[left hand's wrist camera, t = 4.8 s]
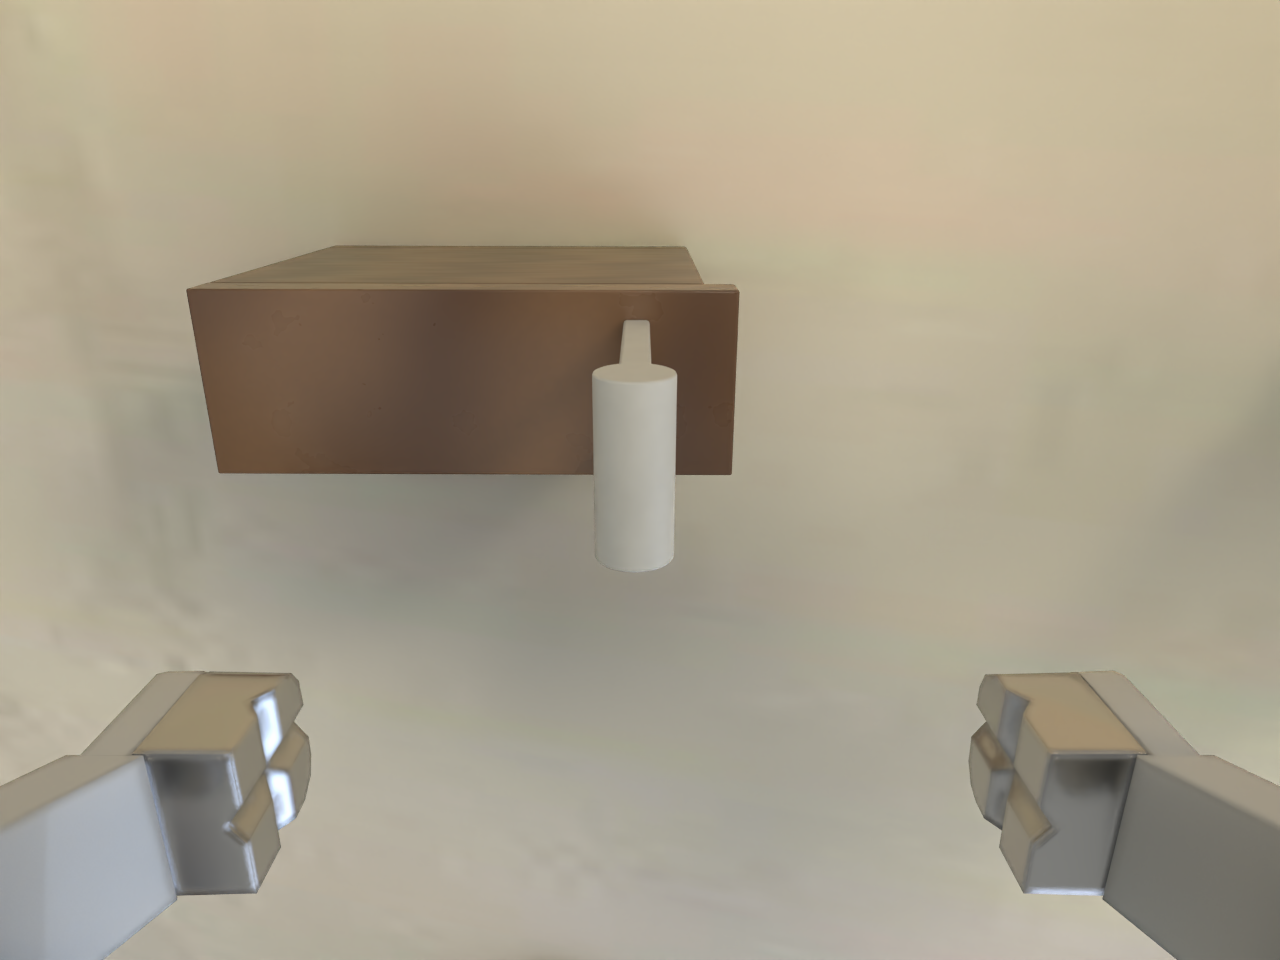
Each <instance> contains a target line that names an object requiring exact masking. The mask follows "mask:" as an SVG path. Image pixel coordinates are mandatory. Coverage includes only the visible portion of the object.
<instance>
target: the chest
mask: <svg viewBox="0 0 1280 960" xmlns="http://www.w3.org/2000/svg"><path fill="white" fill-rule="evenodd" d="M210 283H418V284H704V283H703V281H702V279H701V277H700V275H699V273H698V271H697V269H696V267H695V265H694V262H693V260H692V258H691V256H690V254H689V252H688V250H687V248H686V247H576V246H333V247H330V248H326V249H322V250H319V251H315V252H312V253H308V254H305V255H302V256H298V257H295V258H291V259H288V260H285V261H281V262H278V263H274V264H271V265H268V266H264V267H261V268H257V269H254V270H251V271H247V272H244V273H240V274H237V275H234V276H230V277H227V278H223V279H220V280H217V281H213V282H210Z"/></svg>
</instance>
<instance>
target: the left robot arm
mask: <svg viewBox="0 0 1280 960" xmlns="http://www.w3.org/2000/svg"><path fill="white" fill-rule="evenodd" d="M302 706H303V700H302V695H301V690H300V685H299V681H298V680H297V679H296V678H295V677H294V675H293V674H292V673H259V672H205V671H168V672H164V673H160V674H157V675H156V676H155V677H154V678H153V679H152V680H151V681H150V682H149V683H148V684H147V685H146V686H145V687H144V688H143V689H142V690H141V691H140V693H139V694H138V695H137V696H136V697H135V698H134V699H133V700H132V701H131V702H130V703H129V704H128V705H127V706H126V707H125V708H124V709H123V710H122V712H121V713H120V714H119V715H118V716H117V717H116V718H115V719H114V720H113V721H112V722H111V723H110V724H109V725H108V726H107V727H106V728H105V730H104V731H103V732H102V733H101V734H100V735H99V736H98V737H97V738H96V739H95V740H94V741H93V742H92V743H91V744H90V745H89V746H88V748H87V749H86V750H85V751H84V752H83V753H82V754H81V755H66V756H64V757H61V758H59V759H57V760H55V761H53V762H51V763H49V764H47V765H44V766H42V767H40V768H38V769H36V770H34V771H32V772H30V773H27V774H25V775H23V776H21V777H19V778H17V779H15V780H13V781H10V782H8V783H6V784H4V785H2V786H0V960H103V959H105V958H106V957H107V956H108V955H110V954H111V953H112V952H113V951H115V950H116V949H117V948H118V947H119V946H121V945H122V944H123V943H124V942H126V941H127V940H128V939H129V938H131V937H132V936H133V935H134V934H135V933H137V932H138V931H139V930H140V929H142V928H143V927H144V926H145V925H147V924H148V923H149V922H150V921H152V920H153V919H154V918H155V917H156V916H158V915H159V914H160V913H161V912H163V911H164V910H165V909H166V908H168V907H169V906H170V905H171V904H173V903H174V902H175V901H176V900H177V896H178V895H212V894H247V893H257V891H258V890H259V888H260V886H261V884H262V882H263V880H264V878H265V876H266V874H267V872H268V871H269V869H270V867H271V865H272V863H273V861H274V859H275V857H276V855H277V854H278V852H279V850H280V848H281V845H280V839H279V833H278V830H279V829H281V828H282V827H284V826H285V825H287V824H288V823H290V822H291V821H292V820H294V819H295V818H296V817H297V815H298V813H299V811H300V809H301V807H302V805H303V803H304V801H305V798H306V793H307V789H308V785H309V780H310V776H311V751H310V744H309V737H308V736H307V735H306V734H305V733H304V732H303V731H302V730H301V728H300V727H299V726H298V725H297V724H296V723H295V722H294V720H295V718H296V716H297V715H298V713H299V711H300V710H301V708H302ZM977 706H978V708H979V710H980V711H981V713H982V715H983V716H984V718H985V720H986V722H985V723H984V724H983V725H982V726H981V727H980V728H979V729H978V731H977V732H976V733H975V734H974V735H973V736H972V737H971V745H970V753H969V771H970V782H971V787H972V790H973V794H974V797H975V800H976V803H977V805H978V807H979V809H980V811H981V813H982V815H983V817H984V818H985V819H986V820H988V821H989V822H990V823H992V824H993V825H995V826H996V827H998V828H999V829H1001V830H1002V833H1001V839H1000V845H999V848H1000V850H1001V852H1002V854H1003V855H1004V857H1005V859H1006V861H1007V863H1008V865H1009V867H1010V869H1011V871H1012V872H1013V874H1014V876H1015V878H1016V880H1017V882H1018V884H1019V886H1020V887H1021V889H1022V891H1023V893H1031V894H1066V895H1102V896H1103V900H1104V901H1105V902H1107V903H1108V904H1109V905H1110V906H1112V907H1113V908H1114V909H1115V910H1117V911H1118V912H1119V913H1120V914H1121V915H1123V916H1124V917H1125V918H1126V919H1128V920H1129V921H1130V922H1131V923H1133V924H1134V925H1135V926H1136V927H1137V928H1139V929H1140V930H1141V931H1142V932H1144V933H1145V934H1146V935H1147V936H1149V937H1150V938H1151V939H1152V940H1153V941H1155V942H1156V943H1157V944H1158V945H1160V946H1161V947H1162V948H1163V949H1165V950H1166V951H1167V952H1168V953H1169V954H1171V955H1172V956H1173V957H1174V958H1176V959H1177V960H1280V786H1278V785H1276V784H1274V783H1272V782H1269V781H1267V780H1265V779H1263V778H1261V777H1259V776H1257V775H1255V774H1252V773H1250V772H1248V771H1246V770H1244V769H1242V768H1240V767H1238V766H1236V765H1233V764H1231V763H1229V762H1227V761H1225V760H1223V759H1221V758H1219V757H1216V756H1214V755H1199V754H1198V753H1197V752H1196V751H1195V750H1194V749H1193V747H1192V746H1191V745H1190V744H1189V743H1188V742H1187V741H1186V740H1185V739H1184V738H1183V737H1182V736H1181V735H1180V734H1179V733H1178V732H1177V731H1176V729H1175V728H1174V727H1173V726H1172V725H1171V724H1170V723H1169V722H1168V721H1167V720H1166V719H1165V718H1164V717H1163V716H1162V715H1161V714H1160V713H1159V711H1158V710H1157V709H1156V708H1155V707H1154V706H1153V705H1152V704H1151V703H1150V702H1149V701H1148V700H1147V699H1146V698H1145V697H1144V696H1143V694H1142V693H1141V692H1140V691H1139V690H1138V689H1137V688H1136V687H1135V686H1134V685H1133V684H1132V683H1131V682H1130V681H1129V680H1128V679H1127V678H1126V676H1125V675H1122V674H1120V673H1118V672H1115V671H1089V672H1071V673H1031V674H989V675H985V676H984V678H983V681H982V683H981V685H980V688H979V694H978V699H977Z"/></svg>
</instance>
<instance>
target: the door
mask: <svg viewBox="0 0 1280 960" xmlns="http://www.w3.org/2000/svg"><path fill="white" fill-rule="evenodd" d="M187 296H188V302H189V308H190V313H191V319H192V325H193V330H194V336H195V342H196V347H197V353H198V359H199V364H200V370H201V376H202V381H203V387H204V393H205V398H206V404H207V410H208V415H209V421H210V427H211V432H212V438H213V444H214V449H215V455H216V461H217V466H218V472H219V473H280V474H585V475H594V520H595V556H596V559H597V560H598V562H599V563H600V564H602V565H603V566H605V567H607V568H610V569H613V570H617V571H623V572H646V571H652V570H656V569H659V568H662V567H664V566H666V565H667V564H669V563H670V562H671V560H672V559H673V556H674V521H675V475H731V474H732V456H733V432H734V408H735V384H736V360H737V336H738V313H739V290H738V289H737V288H736V286H735V285H733V284H418V283H206V284H202V285H199V286H195V287H192V288H188V289H187Z"/></svg>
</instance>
